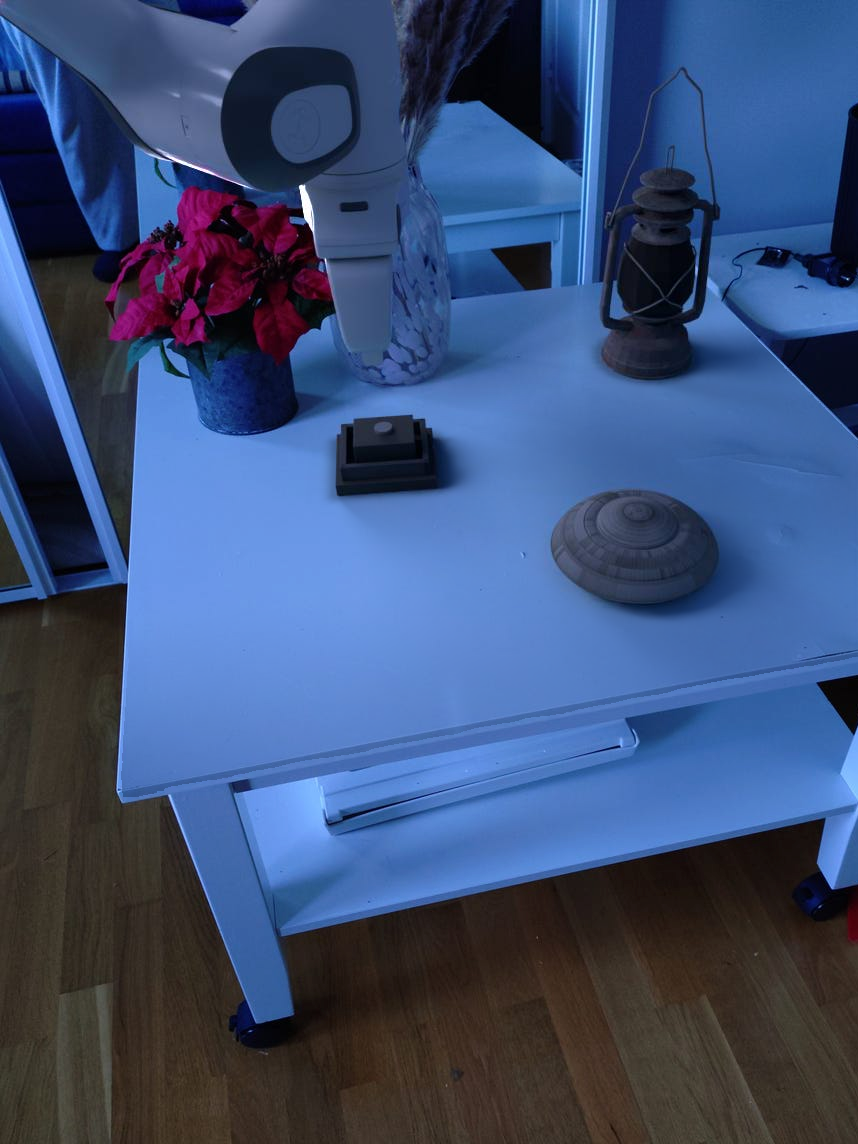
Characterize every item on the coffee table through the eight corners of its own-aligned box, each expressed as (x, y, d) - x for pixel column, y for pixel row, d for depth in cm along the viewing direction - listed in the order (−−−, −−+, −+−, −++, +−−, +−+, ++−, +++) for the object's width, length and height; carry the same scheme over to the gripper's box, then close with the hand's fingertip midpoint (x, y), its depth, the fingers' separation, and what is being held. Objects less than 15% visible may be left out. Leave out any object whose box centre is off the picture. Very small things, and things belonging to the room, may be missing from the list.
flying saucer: (534, 516, 89) (536, 469, 85) (685, 497, 91) (694, 450, 87) (571, 626, 79) (574, 578, 75) (740, 603, 80) (752, 555, 76)
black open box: (337, 495, 92) (333, 472, 90) (338, 443, 98) (334, 420, 96) (437, 488, 93) (436, 465, 90) (432, 436, 99) (431, 414, 97)
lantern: (683, 328, 114) (724, 45, 92) (712, 373, 106) (765, 77, 85) (584, 339, 112) (602, 54, 91) (607, 385, 105) (633, 88, 83)
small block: (356, 472, 93) (352, 443, 90) (356, 443, 96) (352, 414, 94) (417, 467, 93) (414, 438, 90) (414, 439, 96) (412, 410, 94)
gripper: (320, 149, 83) (340, 297, 93) (313, 247, 69) (337, 410, 79) (390, 145, 83) (403, 293, 93) (398, 242, 69) (412, 404, 79)
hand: (373, 348), depth 86 cm, fingers open, 4 cm apart
